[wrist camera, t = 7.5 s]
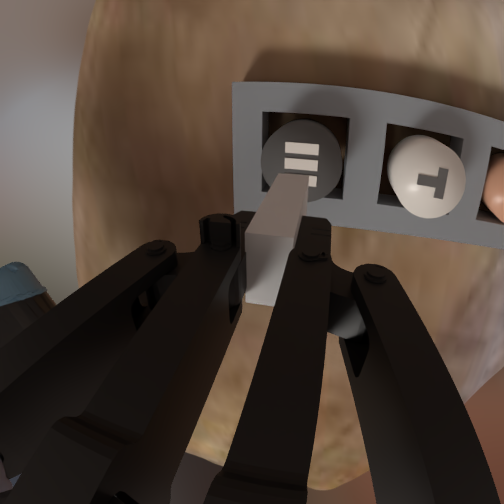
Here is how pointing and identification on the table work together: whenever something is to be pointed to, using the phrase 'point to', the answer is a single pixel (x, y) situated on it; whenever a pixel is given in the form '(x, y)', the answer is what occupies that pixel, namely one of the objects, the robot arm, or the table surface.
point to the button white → (426, 176)
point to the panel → (368, 157)
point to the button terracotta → (495, 186)
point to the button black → (304, 156)
